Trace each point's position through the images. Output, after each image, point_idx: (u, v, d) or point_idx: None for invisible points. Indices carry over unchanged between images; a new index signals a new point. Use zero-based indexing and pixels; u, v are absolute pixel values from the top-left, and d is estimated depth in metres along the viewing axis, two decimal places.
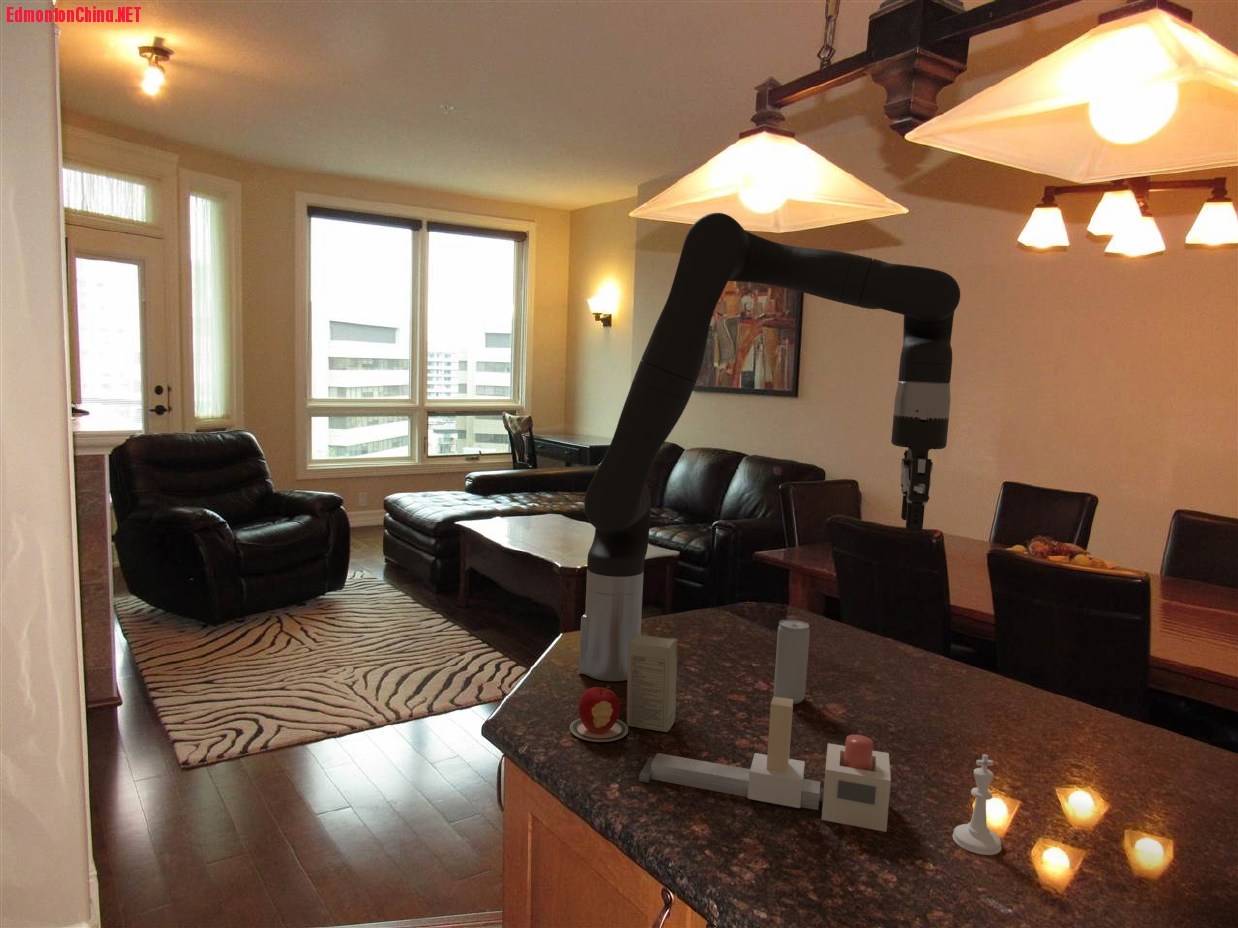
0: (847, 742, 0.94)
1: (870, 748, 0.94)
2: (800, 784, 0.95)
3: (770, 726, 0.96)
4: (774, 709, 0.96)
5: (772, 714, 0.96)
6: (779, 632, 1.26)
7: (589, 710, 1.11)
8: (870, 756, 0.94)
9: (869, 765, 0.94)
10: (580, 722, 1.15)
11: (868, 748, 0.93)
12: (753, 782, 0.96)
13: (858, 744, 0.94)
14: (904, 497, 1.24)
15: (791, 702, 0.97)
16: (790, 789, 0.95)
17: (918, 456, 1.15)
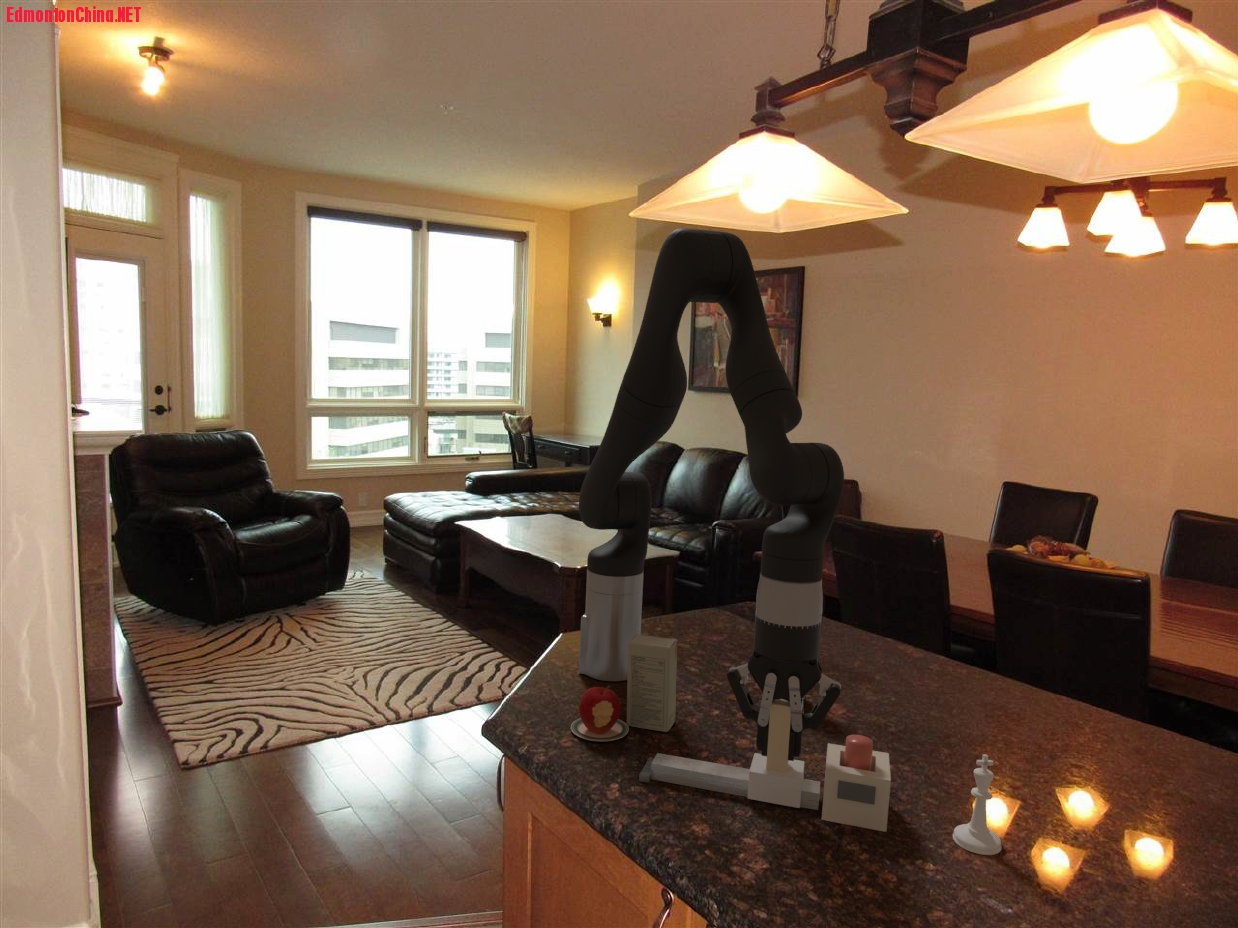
0: (847, 742, 0.94)
1: (870, 748, 0.94)
2: (800, 784, 0.95)
3: (770, 726, 0.96)
4: (774, 709, 0.96)
5: (772, 714, 0.96)
6: None
7: (590, 710, 1.11)
8: (870, 756, 0.94)
9: (869, 765, 0.94)
10: (581, 722, 1.15)
11: (868, 748, 0.93)
12: (753, 782, 0.96)
13: (858, 744, 0.94)
14: None
15: None
16: (789, 789, 0.95)
17: None
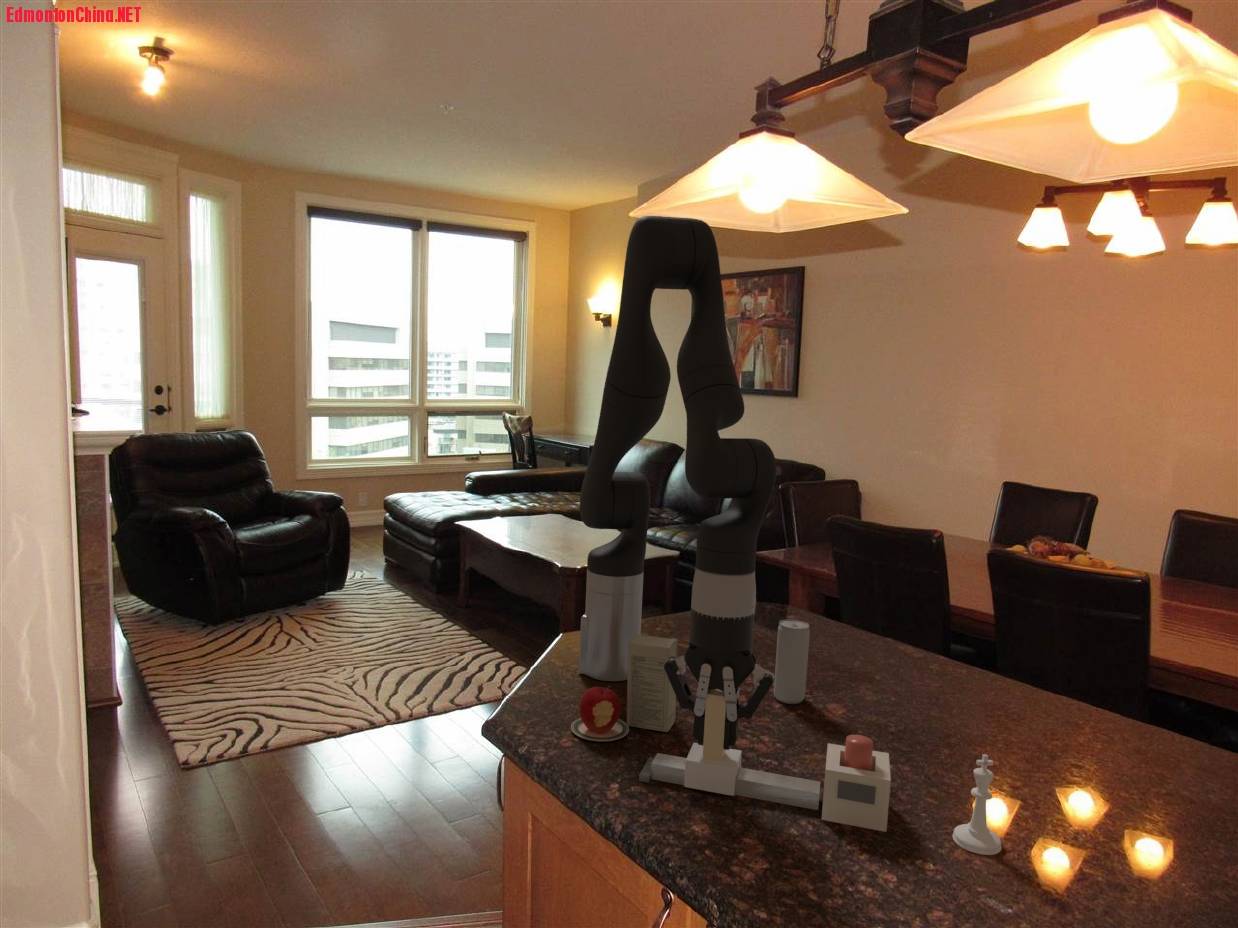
0: (847, 742, 0.94)
1: (870, 748, 0.94)
2: (734, 772, 0.97)
3: (706, 716, 0.98)
4: (710, 699, 0.98)
5: (708, 704, 0.98)
6: (779, 632, 1.26)
7: (590, 710, 1.11)
8: (870, 756, 0.94)
9: (869, 765, 0.94)
10: (581, 722, 1.15)
11: (868, 748, 0.93)
12: (689, 770, 0.98)
13: (858, 744, 0.94)
14: None
15: None
16: (724, 777, 0.97)
17: None
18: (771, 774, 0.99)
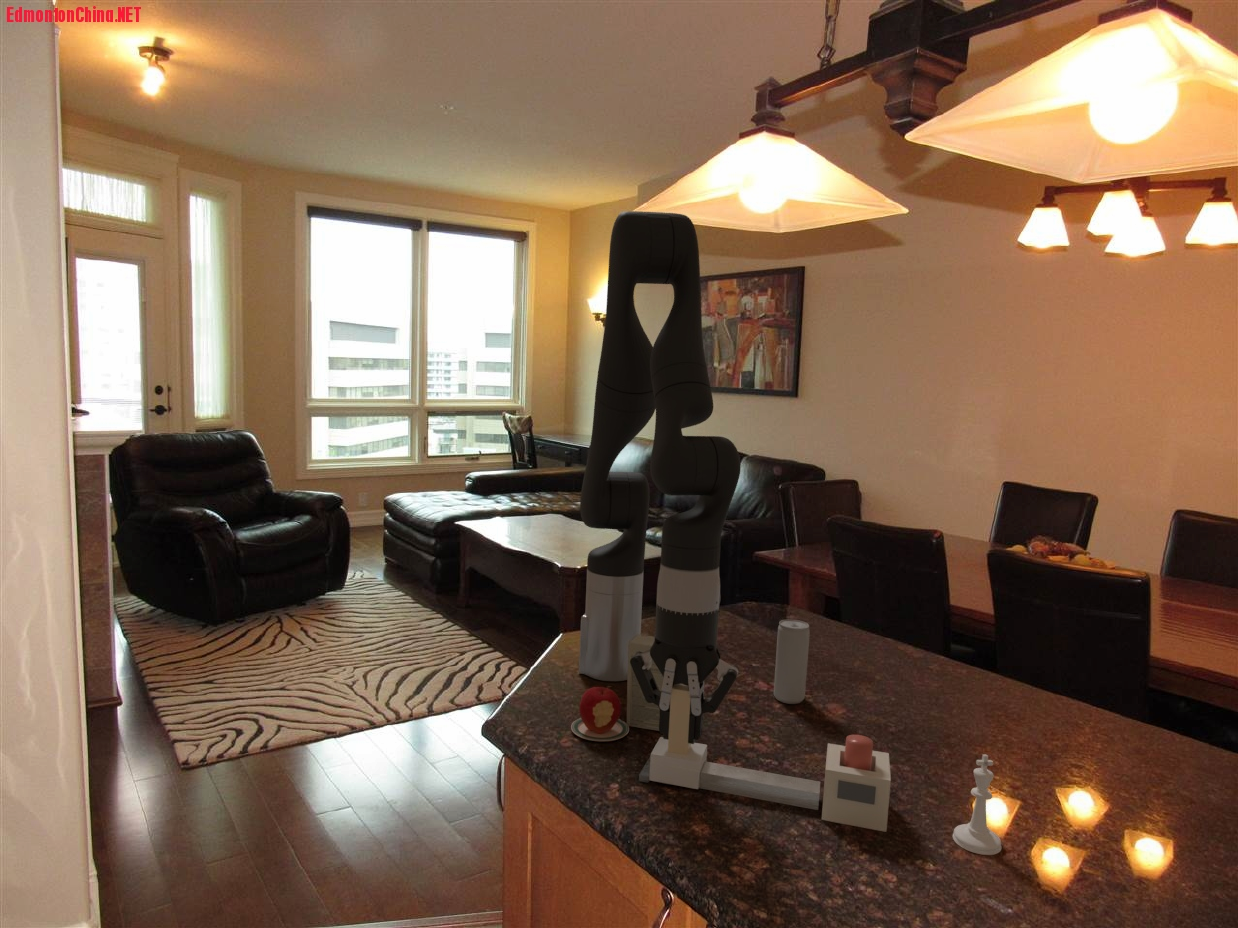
0: (847, 742, 0.94)
1: (870, 748, 0.94)
2: (698, 766, 0.98)
3: (671, 710, 1.00)
4: (674, 693, 0.99)
5: (673, 698, 0.99)
6: (779, 632, 1.26)
7: (590, 710, 1.11)
8: (870, 756, 0.94)
9: (869, 765, 0.94)
10: (581, 722, 1.15)
11: (868, 748, 0.93)
12: (654, 764, 0.99)
13: (858, 744, 0.94)
14: None
15: None
16: (688, 771, 0.98)
17: (717, 656, 0.98)
18: (771, 774, 0.99)
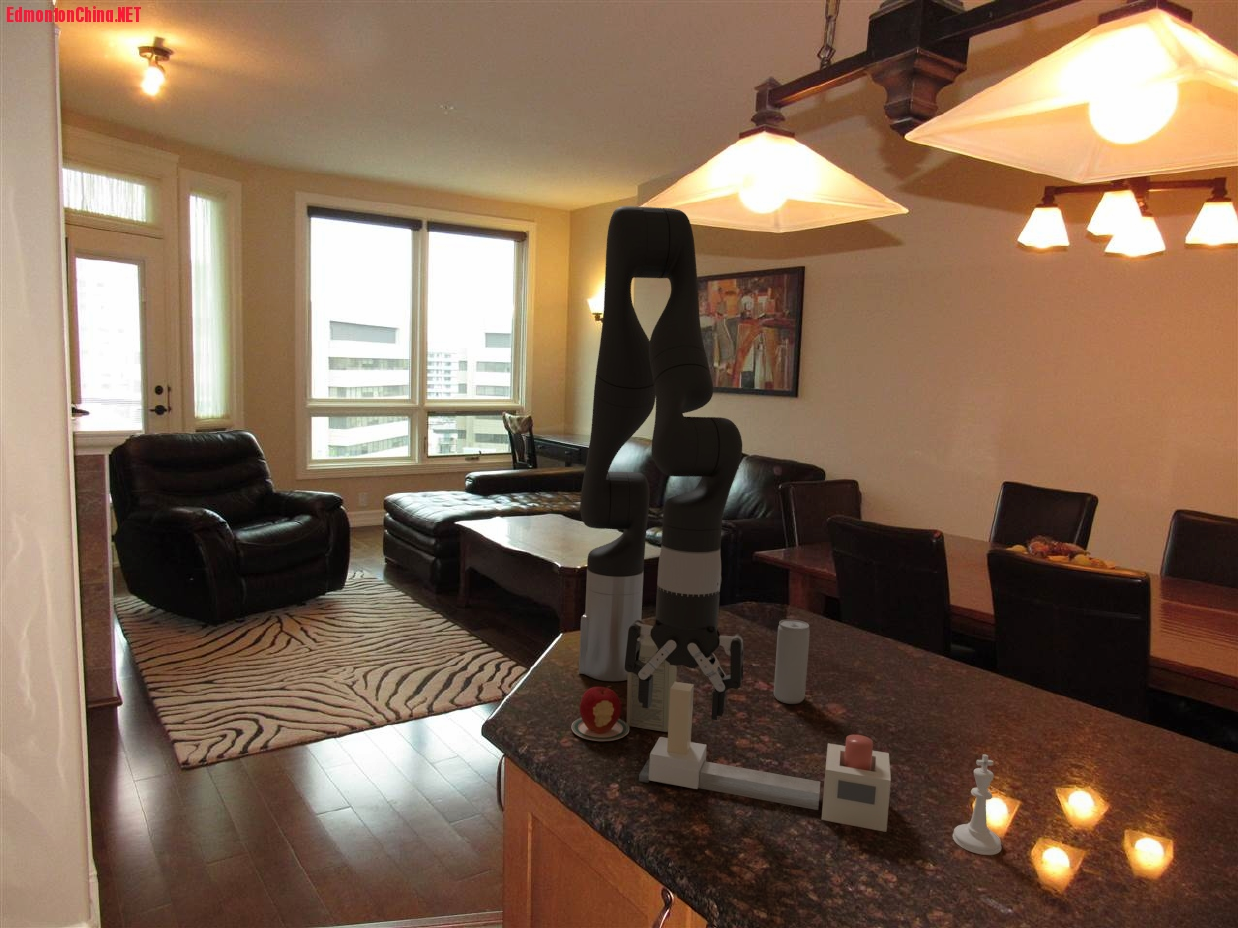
0: (847, 742, 0.94)
1: (870, 748, 0.94)
2: (697, 766, 0.98)
3: (670, 710, 1.00)
4: (674, 693, 0.99)
5: (672, 698, 0.99)
6: (779, 632, 1.26)
7: (591, 710, 1.11)
8: (870, 756, 0.94)
9: (869, 765, 0.94)
10: (581, 722, 1.15)
11: (868, 748, 0.93)
12: (653, 764, 0.99)
13: (858, 744, 0.94)
14: (649, 682, 1.00)
15: (691, 687, 1.00)
16: (688, 771, 0.98)
17: None
18: (771, 774, 0.99)
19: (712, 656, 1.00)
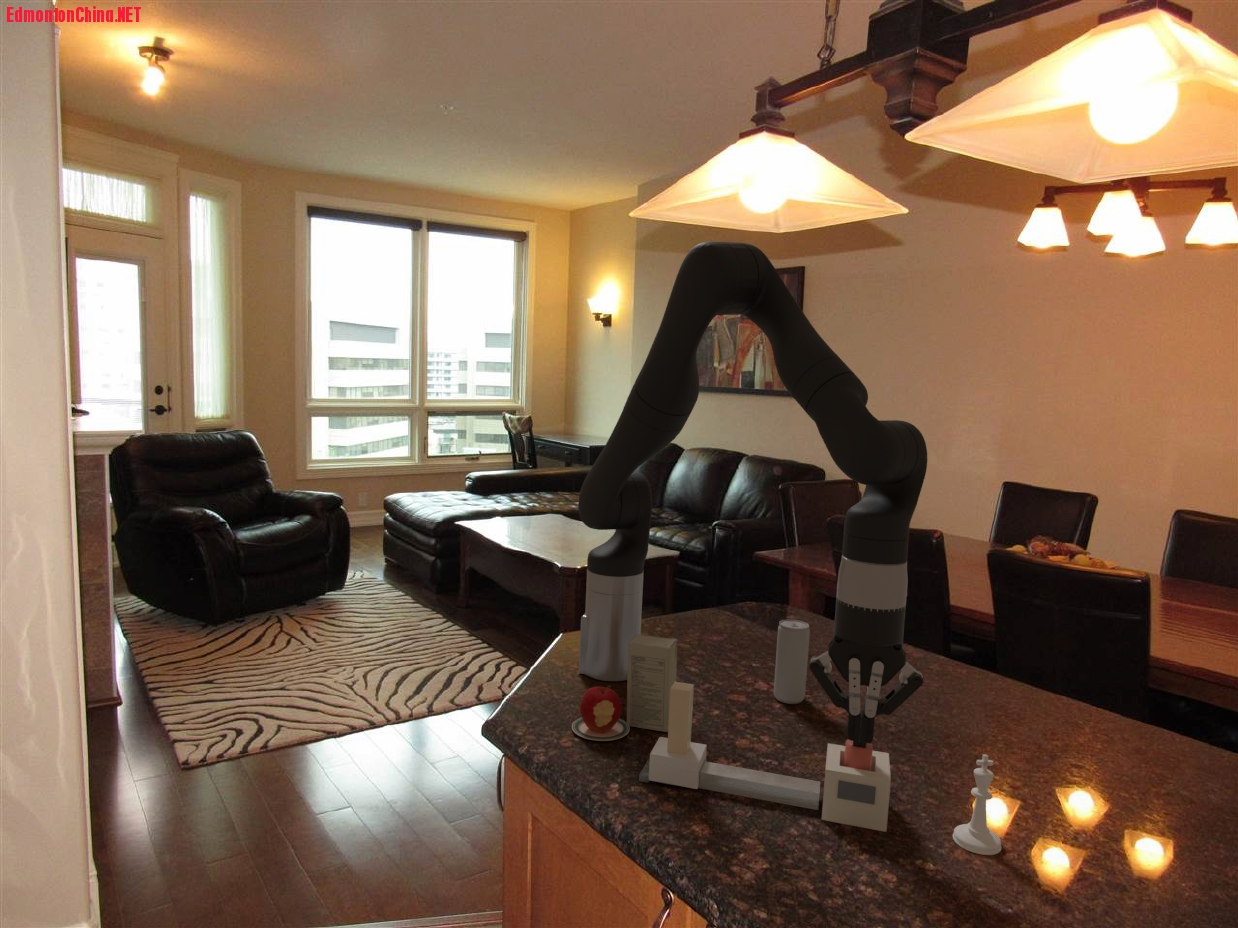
0: (846, 745, 0.95)
1: (870, 752, 0.94)
2: (697, 766, 0.98)
3: (670, 710, 1.00)
4: (674, 693, 0.99)
5: (672, 698, 0.99)
6: (779, 632, 1.26)
7: (591, 709, 1.11)
8: (870, 760, 0.94)
9: (869, 769, 0.94)
10: (582, 721, 1.15)
11: (868, 751, 0.93)
12: (653, 764, 0.99)
13: (858, 747, 0.94)
14: (861, 718, 0.93)
15: (691, 687, 1.00)
16: (688, 771, 0.98)
17: None
18: (771, 774, 0.99)
19: None
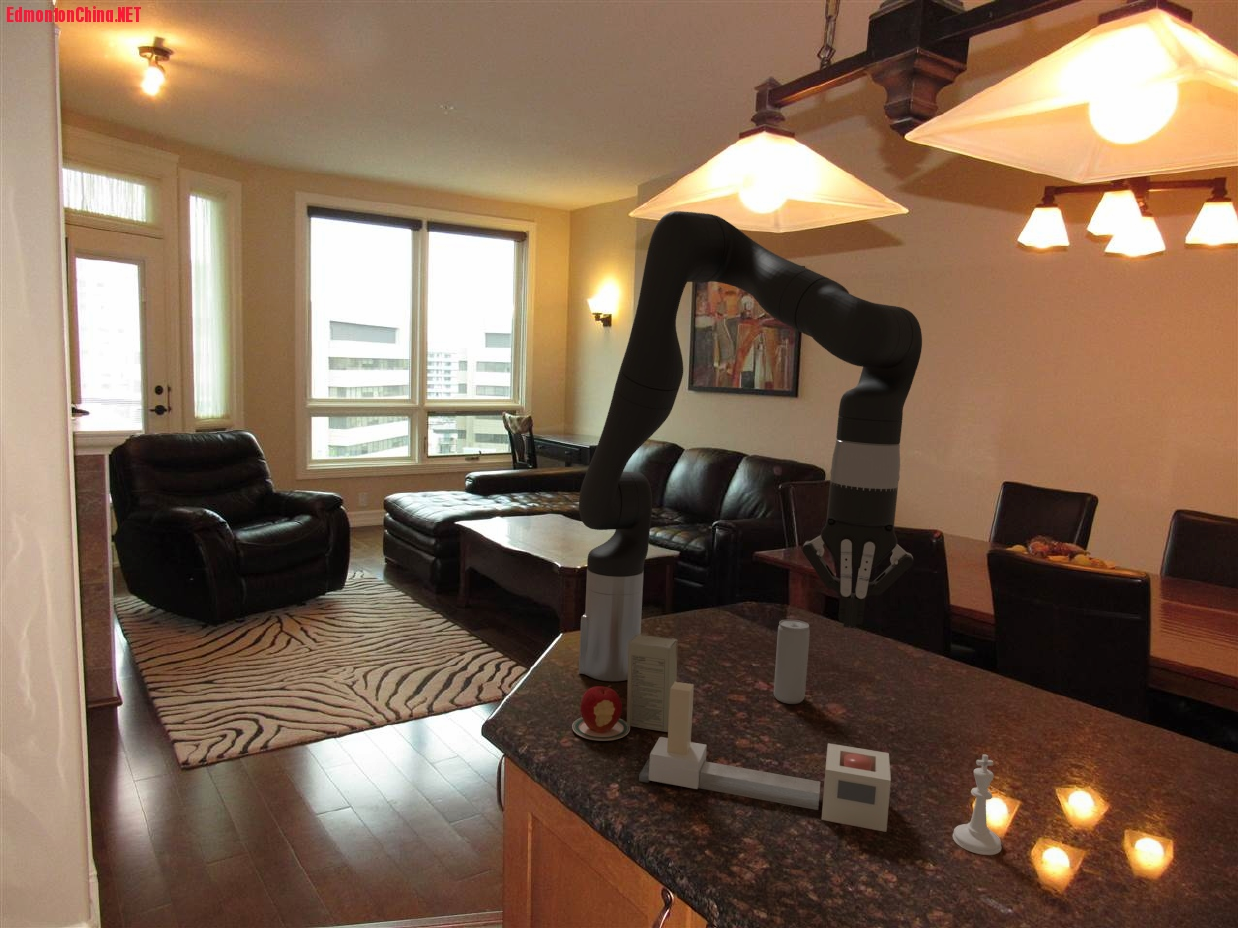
0: (845, 761, 0.95)
1: (868, 767, 0.94)
2: (697, 766, 0.98)
3: (670, 710, 1.00)
4: (674, 693, 0.99)
5: (672, 698, 0.99)
6: (779, 632, 1.26)
7: (591, 709, 1.11)
8: None
9: None
10: (582, 721, 1.15)
11: (867, 767, 0.94)
12: (653, 764, 0.99)
13: (856, 763, 0.94)
14: None
15: (691, 687, 1.00)
16: (688, 771, 0.98)
17: None
18: (771, 774, 0.99)
19: None
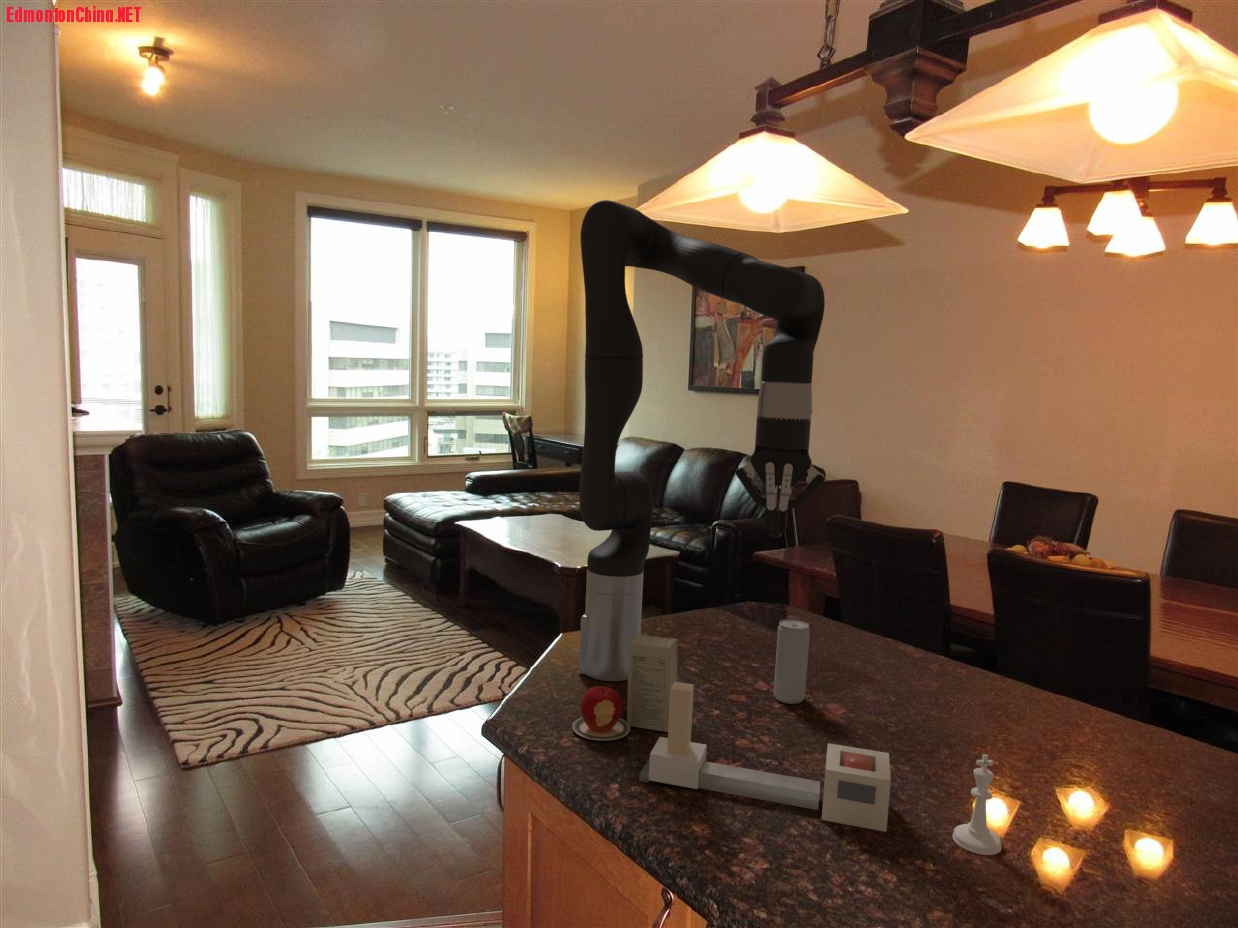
0: (845, 761, 0.95)
1: (868, 767, 0.94)
2: (697, 766, 0.98)
3: (670, 710, 1.00)
4: (674, 693, 0.99)
5: (672, 698, 0.99)
6: (779, 632, 1.26)
7: (592, 709, 1.11)
8: None
9: None
10: (582, 721, 1.16)
11: (867, 767, 0.94)
12: (653, 764, 0.99)
13: (856, 763, 0.94)
14: (776, 512, 1.17)
15: (691, 687, 1.00)
16: (688, 771, 0.98)
17: None
18: (771, 774, 0.99)
19: None
